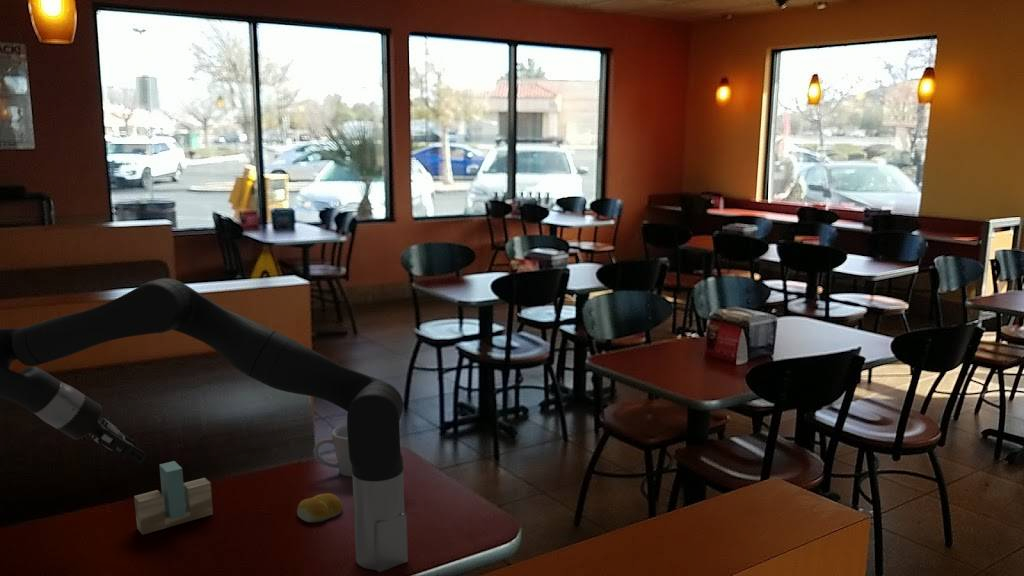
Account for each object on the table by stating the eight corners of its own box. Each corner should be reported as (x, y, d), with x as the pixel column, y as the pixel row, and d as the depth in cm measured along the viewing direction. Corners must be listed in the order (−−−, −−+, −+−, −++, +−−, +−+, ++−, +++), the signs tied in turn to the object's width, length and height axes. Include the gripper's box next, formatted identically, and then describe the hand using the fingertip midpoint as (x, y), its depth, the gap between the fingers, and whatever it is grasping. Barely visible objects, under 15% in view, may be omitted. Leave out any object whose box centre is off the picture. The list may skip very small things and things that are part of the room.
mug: (382, 475, 189) (381, 434, 187) (317, 485, 184) (315, 444, 182) (373, 459, 199) (371, 420, 197) (311, 468, 193) (309, 428, 191)
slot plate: (212, 514, 170) (210, 482, 169) (142, 534, 161) (139, 502, 160) (207, 508, 173) (204, 477, 171) (137, 528, 164) (134, 496, 163)
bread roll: (349, 512, 171) (348, 494, 170) (312, 527, 165) (312, 509, 164) (326, 500, 177) (326, 483, 176) (290, 514, 170) (289, 497, 169)
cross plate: (186, 514, 166) (182, 468, 164) (170, 518, 164) (166, 472, 162) (178, 506, 169) (174, 460, 168) (163, 510, 168) (159, 464, 166)
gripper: (91, 403, 147) (162, 448, 156) (74, 384, 158) (141, 427, 167) (61, 437, 145) (135, 481, 154) (46, 416, 156) (115, 458, 165)
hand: (138, 453), depth 161 cm, fingers open, 8 cm apart
